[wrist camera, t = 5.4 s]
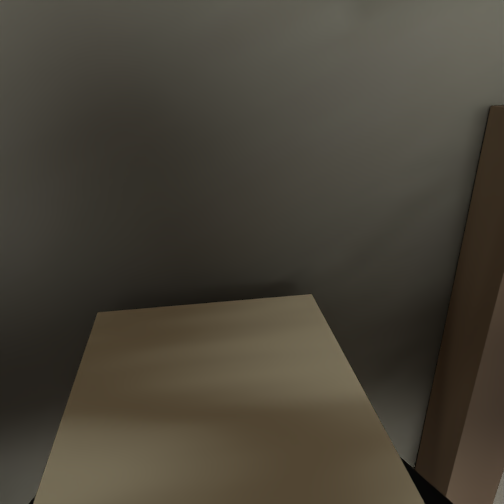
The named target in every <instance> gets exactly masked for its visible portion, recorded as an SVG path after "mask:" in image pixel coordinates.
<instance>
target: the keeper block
mask: <svg viewBox="0 0 504 504" xmlns="http://www.w3.org/2000/svg"><path fill="white" fill-rule="evenodd" d="M33 504H425V503H424V501H423V499H422V497H421V496H420V494H419V492H418V490H417V488H416V486H415V484H414V483H413V481H412V479H411V477H410V475H409V473H408V472H407V470H406V468H405V466H404V464H403V462H402V460H401V459H400V457H399V455H398V453H397V451H396V449H395V447H394V446H393V444H392V442H391V440H390V438H389V436H388V435H387V433H386V431H385V429H384V427H383V425H382V423H381V422H380V420H379V418H378V416H377V414H376V412H375V410H374V409H373V407H372V405H371V403H370V401H369V399H368V398H367V396H366V394H365V392H364V390H363V388H362V386H361V385H360V383H359V381H358V379H357V377H356V375H355V373H354V372H353V370H352V368H351V366H350V364H349V362H348V361H347V359H346V357H345V355H344V353H343V351H342V349H341V348H340V346H339V344H338V342H337V340H336V338H335V336H334V335H333V333H332V331H331V329H330V327H329V325H328V324H327V322H326V320H325V318H324V316H323V314H322V312H321V311H320V309H319V307H318V305H317V303H316V301H315V299H314V298H313V296H312V294H307V295H295V296H284V297H272V298H260V299H248V300H237V301H225V302H213V303H201V304H190V305H178V306H166V307H155V308H143V309H131V310H119V311H108V312H98V313H97V316H96V318H95V321H94V324H93V327H92V330H91V333H90V336H89V339H88V342H87V345H86V348H85V351H84V354H83V357H82V360H81V363H80V366H79V369H78V372H77V375H76V378H75V381H74V384H73V387H72V390H71V393H70V396H69V399H68V402H67V405H66V408H65V411H64V414H63V417H62V419H61V422H60V425H59V428H58V431H57V434H56V437H55V440H54V443H53V446H52V449H51V452H50V455H49V458H48V461H47V464H46V467H45V470H44V473H43V476H42V479H41V482H40V485H39V488H38V491H37V494H36V497H35V500H34V503H33Z"/></svg>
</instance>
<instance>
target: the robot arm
mask: <svg viewBox="0 0 504 504" xmlns="http://www.w3.org/2000/svg"><path fill="white" fill-rule="evenodd" d="M400 459H401V460H402V462H403V464H404V466H405V468H406V470H407V472H408V473H409V475H410V477H411V479H412V481H413V483H414V484H415V486H416V488H417V490H418V492H419V494H420V496H421V497H422V499H423V501H424V503H425V504H453V503H452V502H451V501H450V500H449V499H448V498H447V497H445V496H444V495H443V494H442V493H441V492H440V491H438V490H437V489H436V488H435V487H434V486H433V485H432V484H430V483H429V482H428V481H427V480H426V479H425V478H424V477H422V476H421V475H420V474H419V473H418V472H417V471H415V470H414V469H413V468H412V467H411V466H410V465H409V464H407V463H406V462H405V461H404V460H403V459H402V458H401V457H400ZM35 497H36V495H35ZM35 497H34V498H33V499H32V500H31V502H30V503H29V504H33V503H34V500H35Z"/></svg>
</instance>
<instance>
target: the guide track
mask: <svg viewBox="0 0 504 504" xmlns="http://www.w3.org/2000/svg"><path fill="white" fill-rule="evenodd" d="M503 470H504V105H499V106H491V108H490V113H489V117H488V122H487V127H486V132H485V137H484V141H483V146H482V151H481V156H480V161H479V165H478V170H477V175H476V180H475V185H474V189H473V194H472V199H471V204H470V209H469V213H468V218H467V223H466V228H465V233H464V237H463V242H462V247H461V252H460V256H459V261H458V266H457V271H456V276H455V280H454V285H453V290H452V295H451V300H450V304H449V309H448V314H447V319H446V324H445V328H444V333H443V338H442V343H441V348H440V352H439V357H438V362H437V367H436V372H435V376H434V381H433V386H432V391H431V395H430V400H429V405H428V410H427V415H426V419H425V424H424V429H423V434H422V439H421V443H420V448H419V453H418V458H417V463H416V467H415V471H417V472H418V473H419V474H420V475H421V476H422V477H424V478H425V479H426V480H427V481H428V482H429V483H430V484H432V485H433V486H434V487H435V488H436V489H437V490H438V491H440V492H441V493H442V494H443V495H444V496H445V497H447V498H448V499H449V500H450V501H451V502H452V503H453V504H493V501H494V498H495V495H496V492H497V489H498V486H499V482H500V479H501V476H502V473H503Z"/></svg>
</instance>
